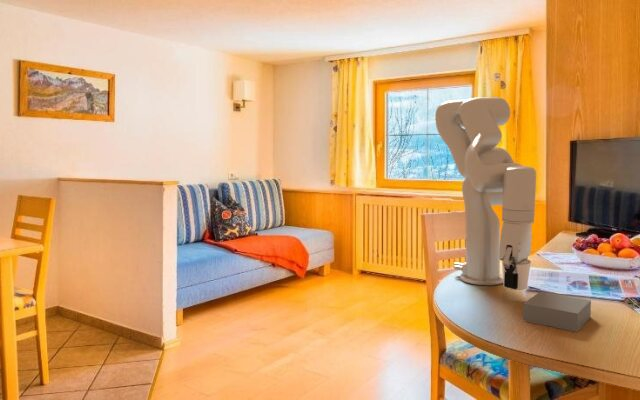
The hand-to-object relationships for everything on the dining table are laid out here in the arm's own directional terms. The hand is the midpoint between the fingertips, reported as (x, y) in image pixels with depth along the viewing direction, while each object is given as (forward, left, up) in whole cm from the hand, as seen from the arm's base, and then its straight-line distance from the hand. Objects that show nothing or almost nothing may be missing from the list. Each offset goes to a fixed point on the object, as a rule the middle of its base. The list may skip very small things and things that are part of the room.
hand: (515, 283), depth 121 cm
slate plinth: (+13, -9, -4) cm, 16 cm away
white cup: (0, 0, -1) cm, 1 cm away
